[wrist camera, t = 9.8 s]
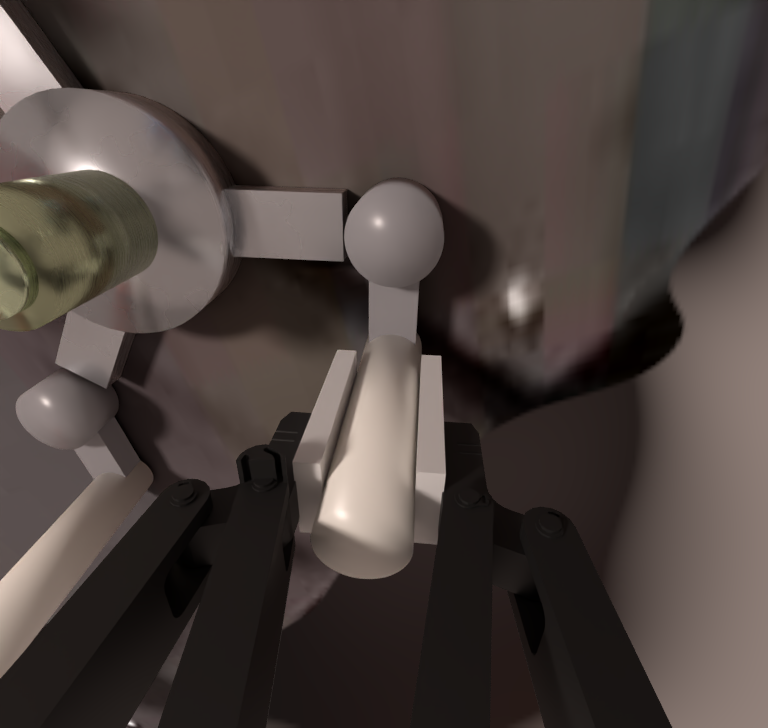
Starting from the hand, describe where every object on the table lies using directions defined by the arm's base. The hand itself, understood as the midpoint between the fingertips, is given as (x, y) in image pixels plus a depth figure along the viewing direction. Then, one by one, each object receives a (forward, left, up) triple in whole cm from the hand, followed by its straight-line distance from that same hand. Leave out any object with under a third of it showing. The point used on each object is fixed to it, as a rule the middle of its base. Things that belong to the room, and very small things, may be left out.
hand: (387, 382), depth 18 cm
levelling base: (+7, -12, -4) cm, 14 cm away
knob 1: (+17, -2, -3) cm, 18 cm away
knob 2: (-2, -3, -3) cm, 4 cm away
